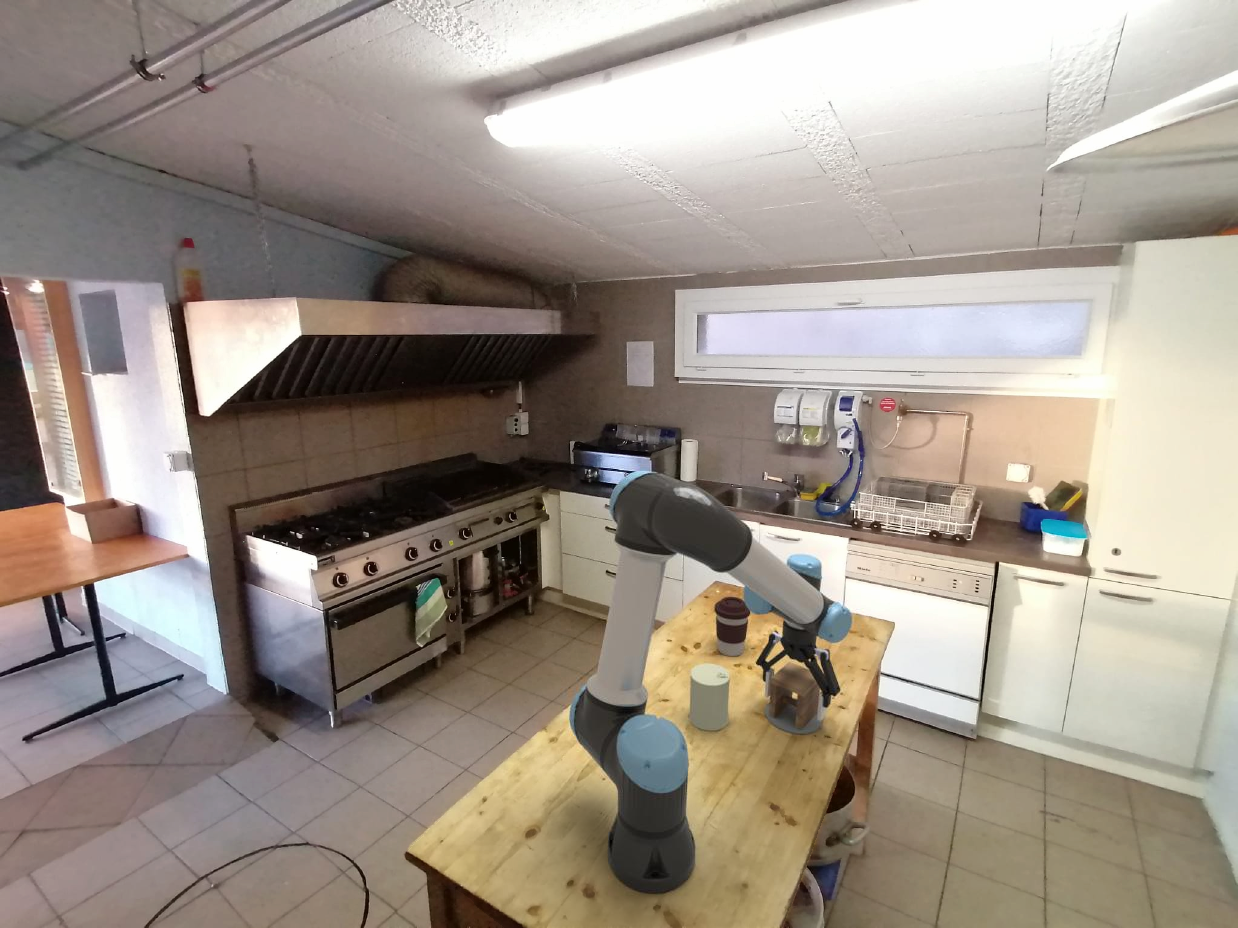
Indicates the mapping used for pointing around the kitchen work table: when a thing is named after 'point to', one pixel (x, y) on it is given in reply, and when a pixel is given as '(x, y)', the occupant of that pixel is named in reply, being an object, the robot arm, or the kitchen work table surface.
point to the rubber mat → (792, 721)
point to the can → (709, 696)
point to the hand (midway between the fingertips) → (794, 705)
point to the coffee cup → (731, 625)
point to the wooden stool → (799, 683)
